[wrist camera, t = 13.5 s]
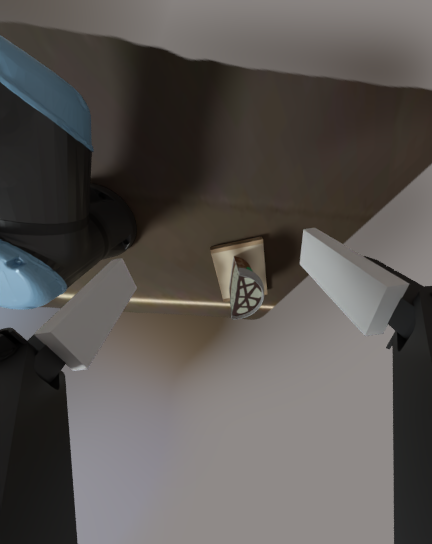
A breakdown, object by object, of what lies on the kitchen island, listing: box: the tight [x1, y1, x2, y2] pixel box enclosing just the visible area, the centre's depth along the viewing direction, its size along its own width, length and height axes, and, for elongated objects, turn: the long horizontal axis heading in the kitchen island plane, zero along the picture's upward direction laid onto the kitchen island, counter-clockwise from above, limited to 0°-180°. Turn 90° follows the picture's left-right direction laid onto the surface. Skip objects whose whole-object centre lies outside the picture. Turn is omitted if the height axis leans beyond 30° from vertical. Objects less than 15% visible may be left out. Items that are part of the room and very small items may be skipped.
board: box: [210, 236, 267, 302], centre depth 44 cm, size 12×16×2 cm
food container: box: [229, 256, 264, 319], centre depth 39 cm, size 12×6×10 cm, turn 176°
